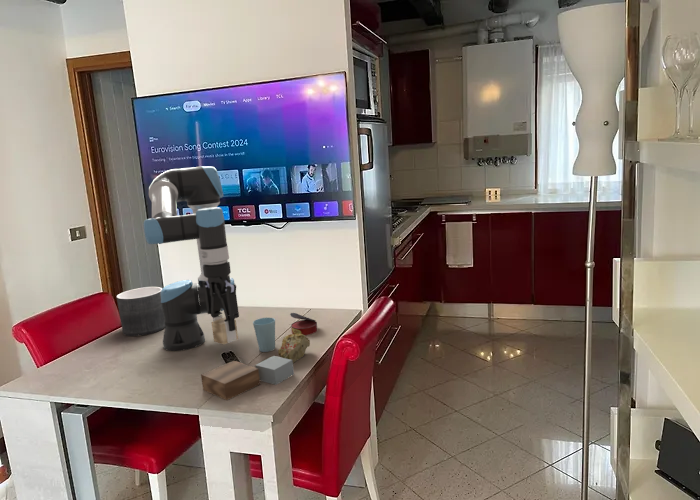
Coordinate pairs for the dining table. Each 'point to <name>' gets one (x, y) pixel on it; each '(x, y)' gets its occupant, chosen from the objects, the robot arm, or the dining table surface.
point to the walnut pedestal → (230, 379)
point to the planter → (141, 311)
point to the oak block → (221, 331)
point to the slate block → (275, 369)
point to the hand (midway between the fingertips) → (226, 339)
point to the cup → (265, 333)
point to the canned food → (303, 325)
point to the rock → (294, 346)
